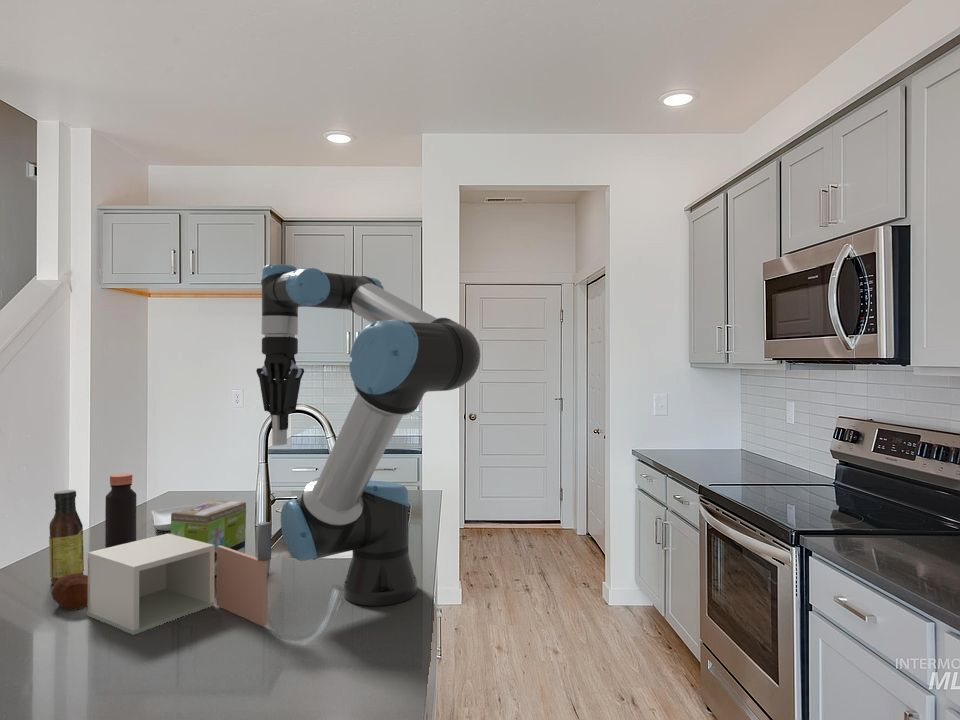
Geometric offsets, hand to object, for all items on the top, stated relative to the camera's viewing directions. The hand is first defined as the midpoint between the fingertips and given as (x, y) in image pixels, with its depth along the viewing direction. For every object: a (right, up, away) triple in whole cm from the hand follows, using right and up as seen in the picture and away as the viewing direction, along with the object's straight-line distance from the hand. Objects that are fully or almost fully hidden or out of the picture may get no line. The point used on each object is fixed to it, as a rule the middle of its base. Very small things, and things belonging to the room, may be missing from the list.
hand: (279, 444), depth 136 cm
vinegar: (-47, -31, +21) cm, 60 cm away
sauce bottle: (-47, -31, +2) cm, 57 cm away
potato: (-37, -31, -12) cm, 50 cm away
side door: (-1, -30, -17) cm, 34 cm away
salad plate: (-44, -31, +54) cm, 76 cm away
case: (-20, -30, -15) cm, 39 cm away
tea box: (-20, -31, +10) cm, 38 cm away
